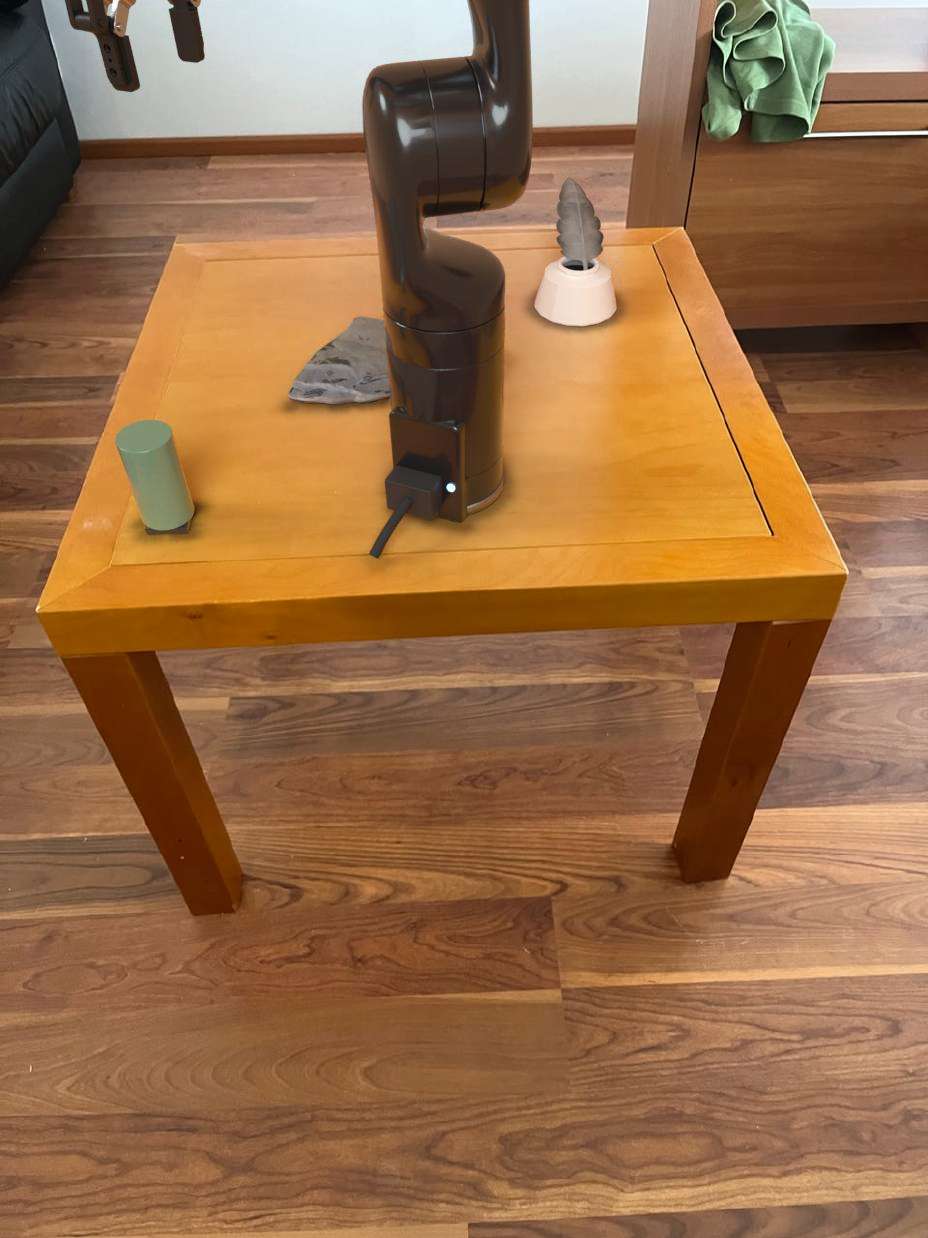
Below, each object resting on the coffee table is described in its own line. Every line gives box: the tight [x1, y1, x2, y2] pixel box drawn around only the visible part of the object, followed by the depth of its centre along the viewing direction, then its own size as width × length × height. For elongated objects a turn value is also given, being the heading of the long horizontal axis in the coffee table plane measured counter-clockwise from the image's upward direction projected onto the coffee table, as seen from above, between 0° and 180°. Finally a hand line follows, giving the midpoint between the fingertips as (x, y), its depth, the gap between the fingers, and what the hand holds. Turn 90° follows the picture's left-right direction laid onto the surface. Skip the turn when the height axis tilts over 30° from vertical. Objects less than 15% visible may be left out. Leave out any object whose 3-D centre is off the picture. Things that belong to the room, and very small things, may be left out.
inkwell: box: [533, 177, 618, 327], centre depth 103 cm, size 9×18×10 cm, turn 5°
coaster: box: [144, 501, 196, 535], centre depth 79 cm, size 4×4×1 cm
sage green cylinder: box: [114, 419, 195, 530], centre depth 76 cm, size 4×4×8 cm
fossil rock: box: [287, 316, 390, 405], centre depth 94 cm, size 18×15×2 cm
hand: (161, 74), depth 75 cm, fingers open, 8 cm apart
